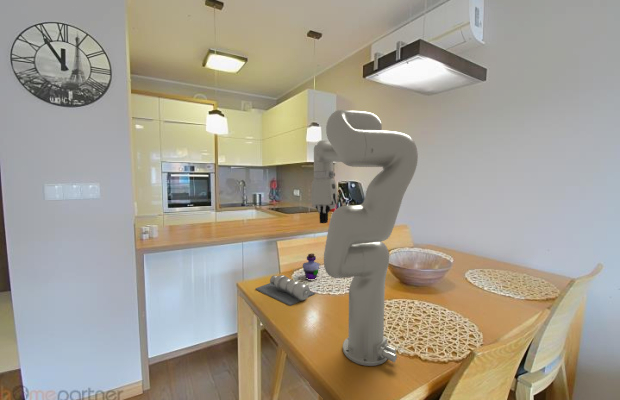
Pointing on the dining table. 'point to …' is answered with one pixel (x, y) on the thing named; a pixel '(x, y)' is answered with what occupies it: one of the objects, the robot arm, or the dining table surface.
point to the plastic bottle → (290, 287)
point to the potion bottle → (311, 267)
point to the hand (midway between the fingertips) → (323, 222)
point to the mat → (279, 294)
